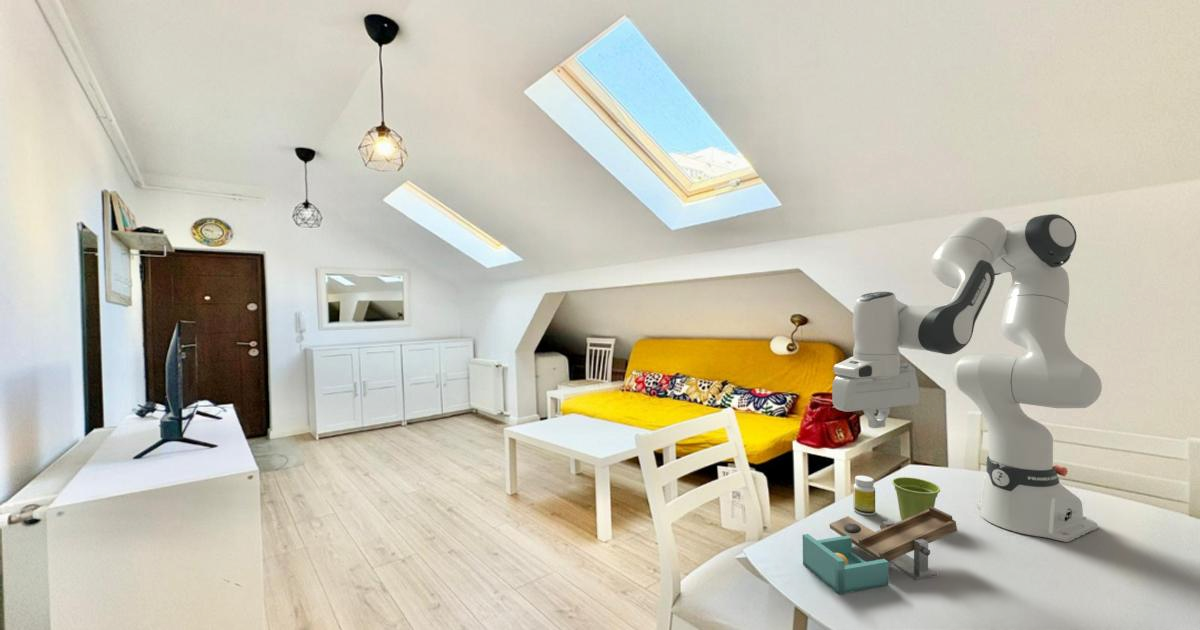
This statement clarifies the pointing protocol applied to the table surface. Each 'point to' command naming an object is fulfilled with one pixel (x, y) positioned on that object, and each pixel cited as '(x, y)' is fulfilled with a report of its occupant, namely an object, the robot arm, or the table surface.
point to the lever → (897, 533)
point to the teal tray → (843, 565)
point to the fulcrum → (911, 566)
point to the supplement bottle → (864, 495)
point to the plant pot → (914, 495)
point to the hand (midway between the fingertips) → (876, 427)
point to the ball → (843, 558)
